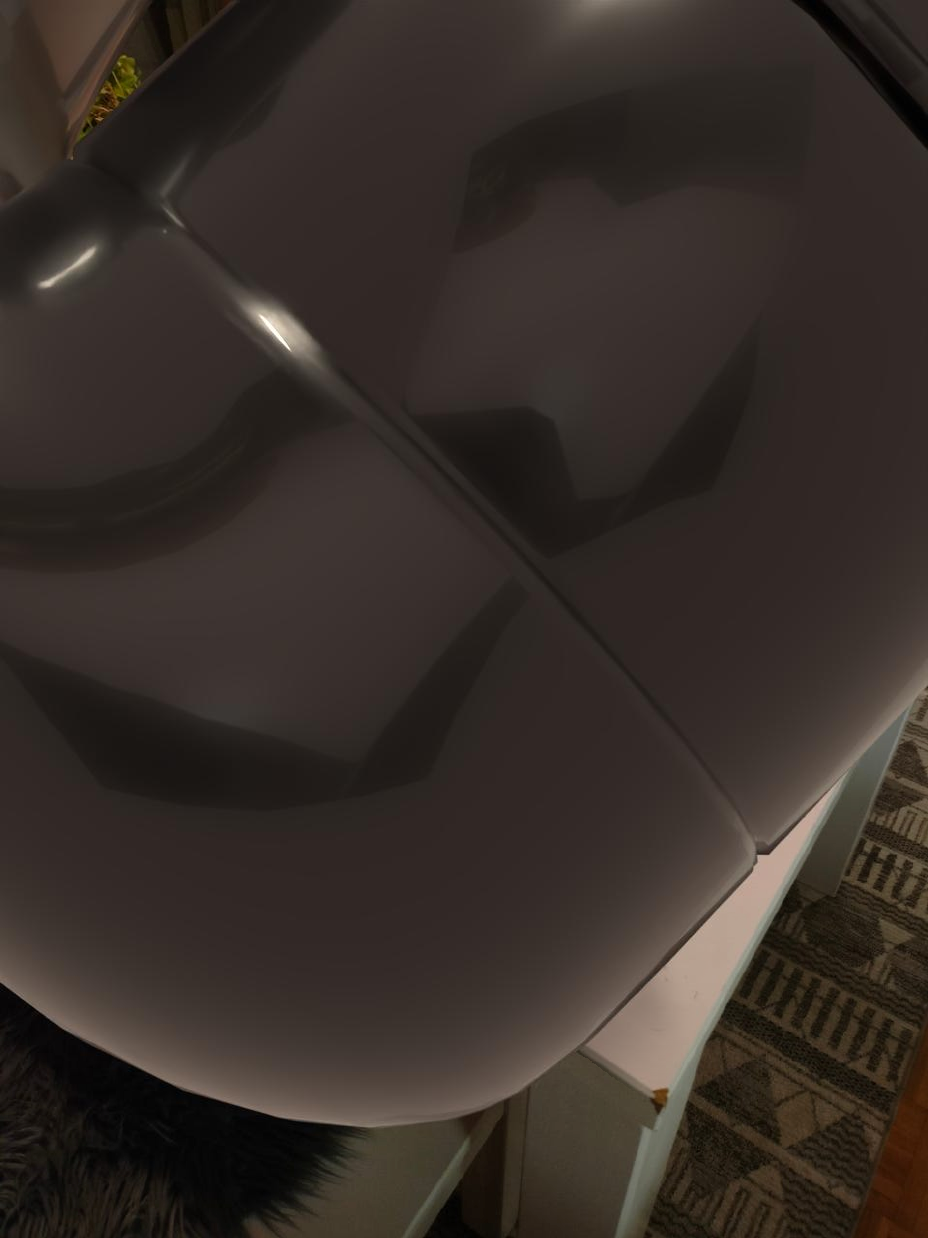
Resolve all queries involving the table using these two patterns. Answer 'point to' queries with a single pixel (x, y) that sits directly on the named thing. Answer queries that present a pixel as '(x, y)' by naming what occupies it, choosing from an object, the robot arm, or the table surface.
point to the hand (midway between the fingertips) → (480, 646)
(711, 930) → the table surface
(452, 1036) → the robot arm
